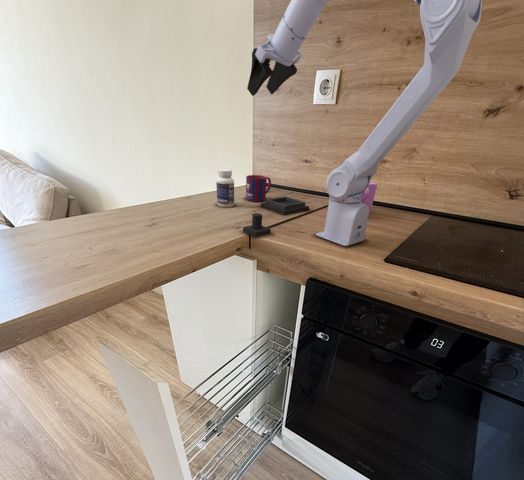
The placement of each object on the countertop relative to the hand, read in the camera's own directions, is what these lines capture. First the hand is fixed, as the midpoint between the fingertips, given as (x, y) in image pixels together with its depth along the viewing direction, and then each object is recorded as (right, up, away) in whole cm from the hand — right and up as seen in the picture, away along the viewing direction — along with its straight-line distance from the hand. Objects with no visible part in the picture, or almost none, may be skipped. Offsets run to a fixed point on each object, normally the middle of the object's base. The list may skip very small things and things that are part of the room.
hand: (260, 91), depth 73 cm
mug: (0, -10, +32) cm, 33 cm away
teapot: (+27, -19, +23) cm, 40 cm away
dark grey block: (-1, -33, +4) cm, 33 cm away
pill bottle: (-11, -17, +23) cm, 31 cm away
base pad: (+8, -17, +23) cm, 30 cm away
